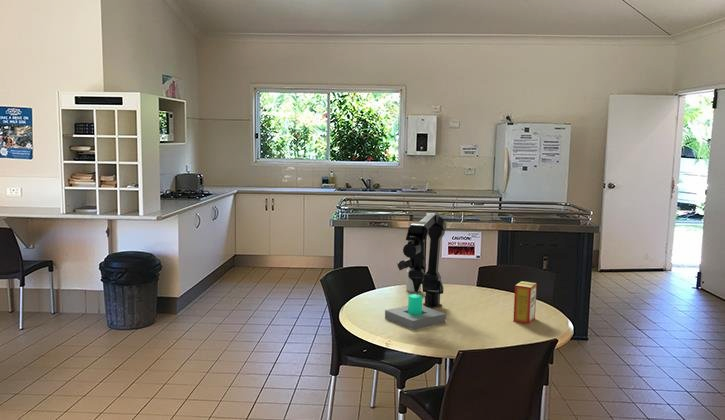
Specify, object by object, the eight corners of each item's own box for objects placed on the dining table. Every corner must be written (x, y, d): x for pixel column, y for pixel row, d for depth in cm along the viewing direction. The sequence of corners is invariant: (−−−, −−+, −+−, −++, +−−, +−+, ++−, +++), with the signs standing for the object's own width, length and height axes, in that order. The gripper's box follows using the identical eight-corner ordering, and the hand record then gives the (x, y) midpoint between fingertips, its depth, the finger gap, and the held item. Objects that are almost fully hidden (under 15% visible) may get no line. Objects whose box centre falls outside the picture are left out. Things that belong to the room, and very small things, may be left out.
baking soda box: (528, 324, 245) (530, 286, 243) (513, 321, 248) (515, 284, 246) (534, 318, 253) (536, 282, 251) (519, 316, 256) (521, 280, 254)
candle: (424, 320, 247) (425, 292, 246) (413, 322, 244) (414, 294, 242) (415, 316, 252) (416, 289, 251) (404, 318, 248) (405, 291, 247)
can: (420, 293, 292) (420, 269, 291) (405, 292, 294) (405, 268, 292) (421, 289, 299) (422, 266, 298) (407, 288, 301) (407, 265, 300)
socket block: (416, 311, 260) (417, 304, 259) (445, 322, 245) (445, 314, 245) (384, 318, 249) (385, 310, 249) (412, 329, 235) (412, 320, 234)
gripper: (400, 248, 257) (399, 283, 259) (396, 256, 239) (395, 294, 241) (426, 249, 255) (425, 284, 257) (423, 258, 237) (422, 295, 239)
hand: (416, 289), depth 249 cm, fingers open, 9 cm apart
